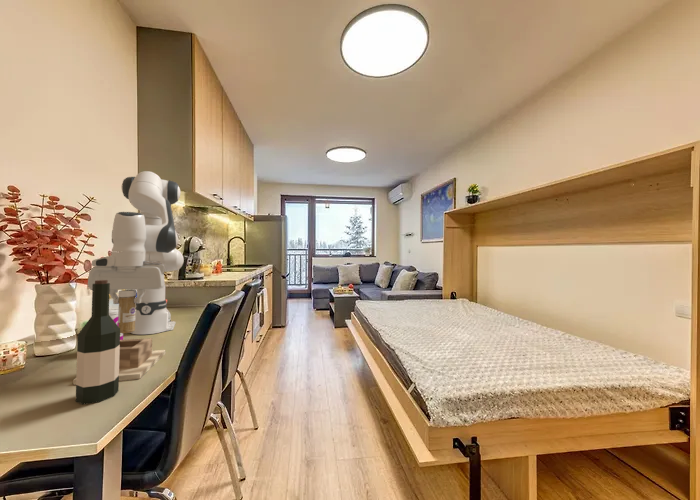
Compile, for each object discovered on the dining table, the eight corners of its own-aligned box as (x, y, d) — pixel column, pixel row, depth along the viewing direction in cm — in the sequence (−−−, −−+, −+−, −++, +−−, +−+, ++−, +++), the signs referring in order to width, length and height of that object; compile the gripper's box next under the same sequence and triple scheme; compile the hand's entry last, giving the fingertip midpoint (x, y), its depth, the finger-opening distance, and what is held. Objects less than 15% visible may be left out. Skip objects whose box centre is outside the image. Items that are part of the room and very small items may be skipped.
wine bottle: (120, 396, 74) (123, 280, 75) (75, 408, 68) (79, 282, 69) (116, 385, 80) (119, 278, 81) (75, 395, 74) (79, 280, 75)
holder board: (113, 357, 101) (114, 336, 101) (165, 353, 106) (165, 333, 106) (73, 384, 80) (74, 357, 80) (139, 379, 85) (140, 353, 85)
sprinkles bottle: (129, 333, 91) (130, 291, 91) (114, 333, 91) (115, 291, 91) (138, 329, 96) (139, 289, 96) (123, 329, 95) (124, 289, 95)
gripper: (168, 261, 99) (167, 301, 99) (97, 260, 94) (95, 302, 94) (161, 261, 93) (160, 304, 93) (85, 260, 88) (83, 306, 87)
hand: (127, 303), depth 93 cm, fingers closed on sprinkles bottle, 4 cm apart
